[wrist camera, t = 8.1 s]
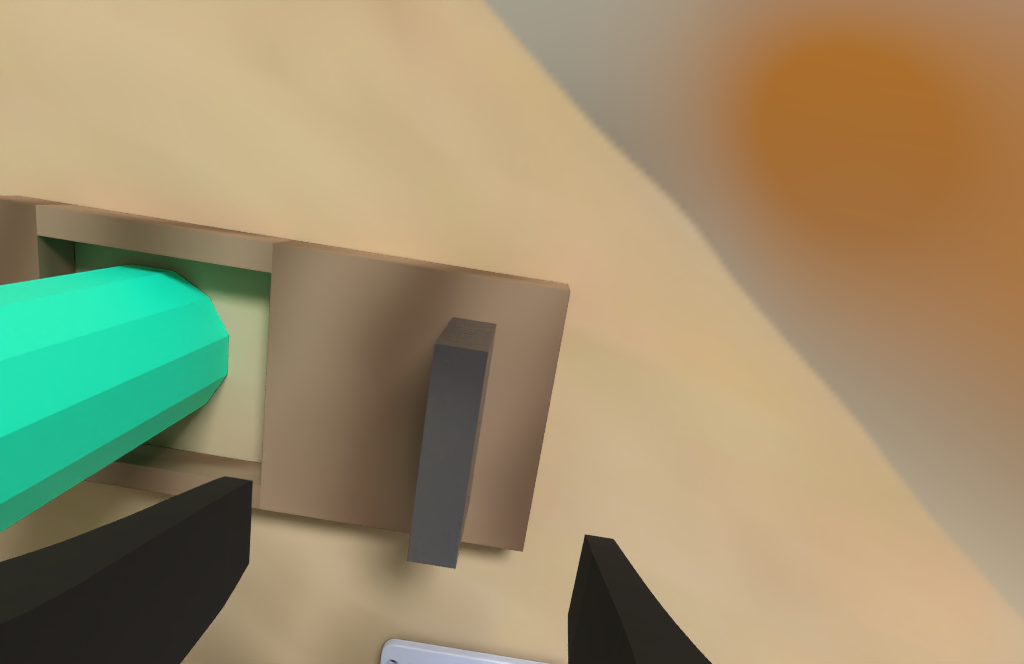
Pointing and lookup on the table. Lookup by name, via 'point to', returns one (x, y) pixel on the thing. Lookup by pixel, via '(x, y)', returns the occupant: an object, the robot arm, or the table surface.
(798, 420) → the table surface
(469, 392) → the brown compartment tray
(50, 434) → the candle
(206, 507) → the robot arm
